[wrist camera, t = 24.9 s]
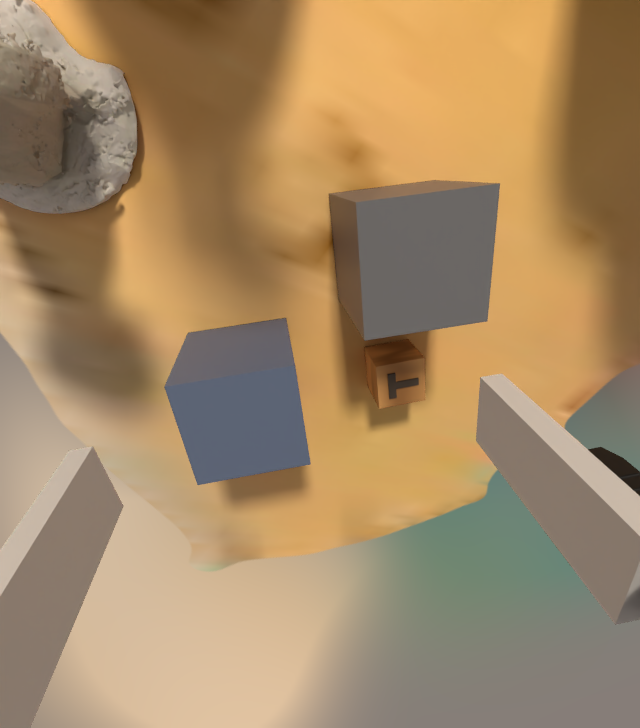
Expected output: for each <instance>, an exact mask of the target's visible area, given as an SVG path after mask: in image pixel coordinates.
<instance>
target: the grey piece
mask: <svg viewBox="0 0 640 728" xmlns="http://www.w3.org/2000/svg"><path fill="white" fill-rule="evenodd" d="M123 74H125V73H124V72H123V71H122V70H120V69H119V68H117V67H115V66H113V65H110V64H104V63H98V62H96V61H95V60H91V59H87V58H85V57H83V56H81V55H79V54H78V53H77V52H76V51H75V50H74V49H73V48H72V47H70V46H69V44H68V43H67V42H66V40H65V39H64V37H63V35H61V34H60V33H59V31H58V30H57V29H56V28H55V26H54V25H53V24H52V22H51V19H50V18H49V17H48V16H47V15H46V14H45V13H44V12H43V11H42V9H41V8H40V7H39V6H38V5H37V4H35V3H34V2H33V1H31V0H0V198H2V199H4V200H6V201H8V202H11V203H12V204H14V205H16V206H18V207H21V208H24V209H28V210H30V211H35V212H40V213H60V214H61V213H72V212H78V211H83V210H87V209H90V208H93V207H95V206H97V205H99V204H101V203H103V202H105V201H107V200H108V199H110V197H111V196H112V195H114V194H116V193H118V192H119V191H120V190H121V186H122V184H126V183H127V182H128V180H129V176H130V171H131V170H132V167H133V166H132V163H133V160H134V157H136V153H137V119H136V114H135V107H134V104H133V101H132V98H131V93H130V90H129V88H128V85H127V83H126V81H125V78H124V77H123Z"/></svg>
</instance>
